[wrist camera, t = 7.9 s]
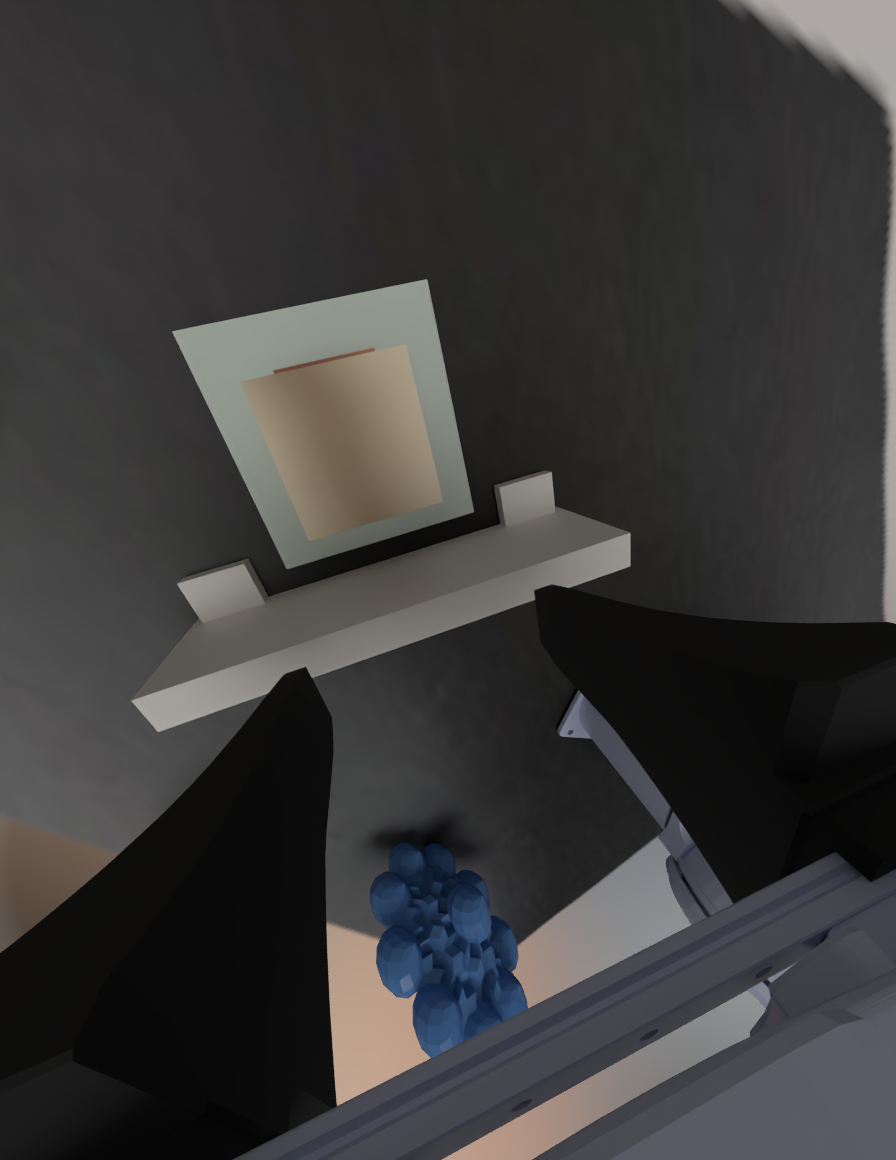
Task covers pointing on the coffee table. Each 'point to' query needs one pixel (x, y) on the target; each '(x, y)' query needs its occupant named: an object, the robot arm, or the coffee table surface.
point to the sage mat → (310, 336)
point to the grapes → (444, 947)
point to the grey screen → (372, 603)
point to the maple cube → (347, 438)
